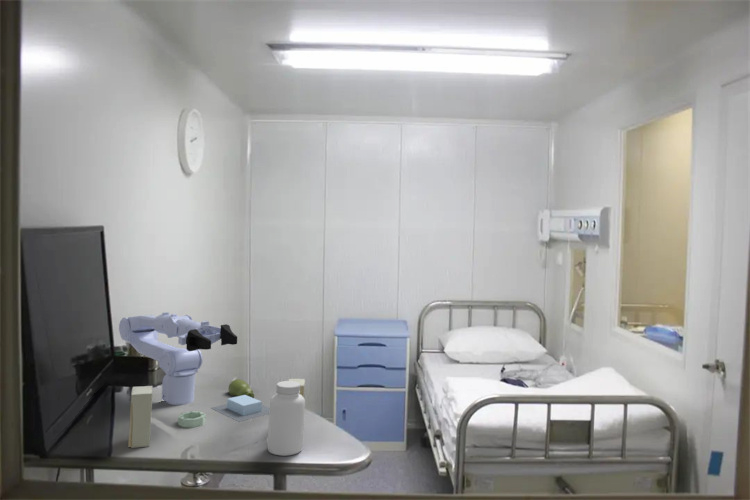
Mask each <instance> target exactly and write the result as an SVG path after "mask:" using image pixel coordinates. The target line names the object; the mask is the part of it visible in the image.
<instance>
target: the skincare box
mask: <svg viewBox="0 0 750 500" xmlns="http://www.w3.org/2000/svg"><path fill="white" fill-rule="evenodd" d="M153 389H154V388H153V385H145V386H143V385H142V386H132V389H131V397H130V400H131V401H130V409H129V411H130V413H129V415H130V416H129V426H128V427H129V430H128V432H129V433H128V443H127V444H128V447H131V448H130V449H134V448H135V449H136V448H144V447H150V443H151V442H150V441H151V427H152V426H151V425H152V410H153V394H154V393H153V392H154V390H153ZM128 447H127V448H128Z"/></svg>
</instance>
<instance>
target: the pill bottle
mask: <svg viewBox="0 0 750 500" xmlns="http://www.w3.org/2000/svg"><path fill="white" fill-rule="evenodd" d="M275 389H276V394H274V395H273V396H272V397H271V398H270V401H269V408H270V409H269V414H268V430H267V431H268V432H267V451H268V452H269V453H270V454H272V455H275V456H280V457H281V456H283V457H285V456H286V457H287V456H293V455H296V454H298V453H301V451H302V449H303V446H304V444H303V443H304V432H305V429H304V428H305V426H304V425H305V414H306V413H305V412H306V411H305V409H306V400H305V397H303V396H302V395H300V394H299V393H300V384H299V383H298V382H295V381H288V380H284V381H279V382H277V384H276V388H275Z"/></svg>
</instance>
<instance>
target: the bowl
mask: <svg viewBox="0 0 750 500" xmlns="http://www.w3.org/2000/svg"><path fill="white" fill-rule="evenodd" d="M206 418H207V414H206V413H205V412H203V411H194V410H191V411H187V412H186V411H185V412H183V413H180V415H179V416H178V417H177V425H178V426H180V427H182V428H196V427H200V426H203V425H204V424H205V423H206V422H207V421H206V420H207V419H206Z"/></svg>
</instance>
